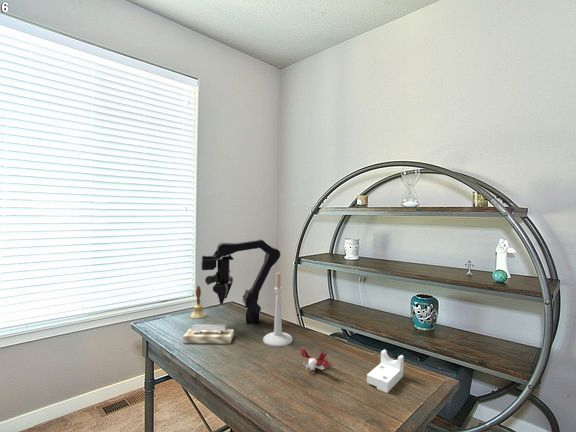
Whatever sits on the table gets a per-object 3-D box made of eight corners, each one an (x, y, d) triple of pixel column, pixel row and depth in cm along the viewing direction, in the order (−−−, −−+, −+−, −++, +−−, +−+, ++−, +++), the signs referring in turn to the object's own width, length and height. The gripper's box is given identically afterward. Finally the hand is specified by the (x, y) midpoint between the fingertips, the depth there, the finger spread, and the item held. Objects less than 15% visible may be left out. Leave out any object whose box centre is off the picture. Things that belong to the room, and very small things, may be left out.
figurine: (343, 371, 115) (344, 352, 114) (321, 383, 107) (322, 363, 106) (312, 356, 126) (313, 339, 125) (291, 366, 118) (291, 348, 117)
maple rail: (233, 335, 144) (233, 329, 144) (230, 343, 136) (230, 336, 136) (189, 335, 144) (189, 328, 144) (183, 343, 136) (183, 336, 136)
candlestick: (259, 344, 135) (259, 274, 134) (268, 332, 148) (268, 268, 147) (288, 348, 132) (289, 275, 131) (295, 335, 145) (295, 269, 144)
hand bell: (209, 315, 171) (209, 285, 170) (197, 319, 164) (197, 288, 163) (198, 312, 175) (198, 283, 174) (186, 316, 168) (186, 286, 167)
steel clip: (225, 338, 141) (225, 324, 141) (224, 340, 139) (224, 326, 139) (193, 338, 141) (193, 324, 141) (192, 340, 139) (192, 326, 139)
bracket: (383, 370, 116) (384, 349, 116) (403, 377, 111) (403, 355, 111) (366, 385, 106) (367, 362, 106) (387, 393, 101) (387, 370, 101)
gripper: (211, 265, 164) (211, 295, 165) (201, 273, 146) (201, 307, 146) (233, 265, 164) (233, 295, 165) (226, 273, 146) (226, 307, 146)
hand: (223, 301), depth 156 cm, fingers open, 9 cm apart
